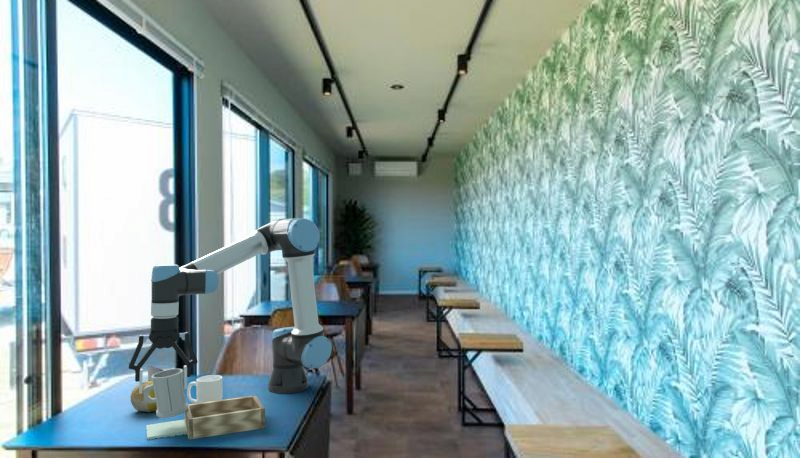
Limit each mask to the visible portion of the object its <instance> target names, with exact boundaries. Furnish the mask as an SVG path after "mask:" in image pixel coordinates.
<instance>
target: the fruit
mask: <svg viewBox="0 0 800 458" xmlns="http://www.w3.org/2000/svg"><path fill="white" fill-rule="evenodd" d="M151 384H153V383H152V381H148V380H146V381H144V382H143V381H142V393H141V394H139V384H138V385H136V386H135V387H134V388H133V389H132V390H131V393H130V403H131V405H132V408H134V410H136V411H138V412H147V413H152V412H156V410H157V403H156V402H154V403H148V402H147V401H145V397H144V393H143V389H144V388H145V387H146V386H149V385H151ZM148 396H150V397H151V398H156V397H155V392H154V389H152V390H149V392H148Z"/></svg>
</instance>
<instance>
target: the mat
mask: <svg viewBox="0 0 800 458" xmlns="http://www.w3.org/2000/svg"><path fill="white" fill-rule="evenodd" d="M145 428H146V430H147V431H146V441H149V439H150V440H156V439H155V438H157V439H161V438H160V437H164V438H167V437H166V436H170V437H175V435H177V436H182V435H183V434H184V435H187V429H186V424H185V418H184V419H179V420H178V419H177V420H172V421H165V422H159V423H158V422H157V423H151V424H146V427H145Z"/></svg>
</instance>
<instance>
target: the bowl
mask: <svg viewBox="0 0 800 458" xmlns="http://www.w3.org/2000/svg"><path fill="white" fill-rule="evenodd" d="M161 371H164V369H162V368H159V367H156V366H152V365H150V366H147V381H152V379H151V376H152V375H154V374H155V373H158V372H161Z"/></svg>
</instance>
